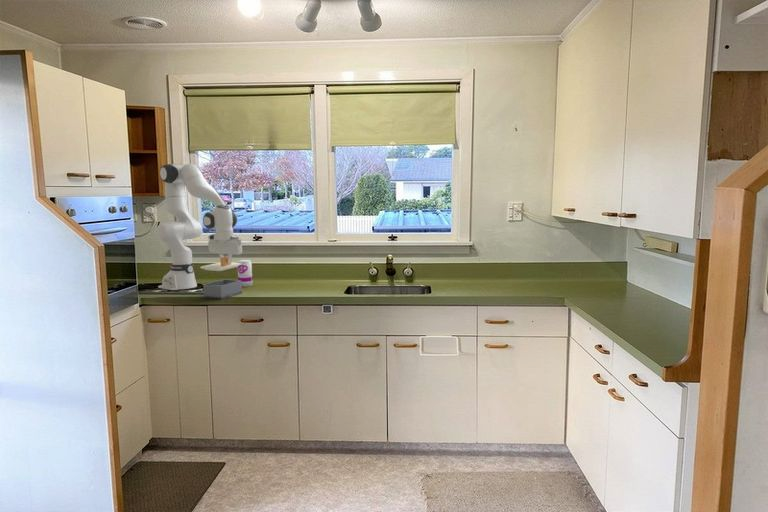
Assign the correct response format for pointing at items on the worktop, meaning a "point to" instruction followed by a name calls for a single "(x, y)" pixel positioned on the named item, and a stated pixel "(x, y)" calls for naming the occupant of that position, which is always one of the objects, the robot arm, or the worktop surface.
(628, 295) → the worktop surface
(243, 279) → the supplement can
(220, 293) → the tub
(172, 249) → the robot arm
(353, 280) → the worktop surface
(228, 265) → the lid
